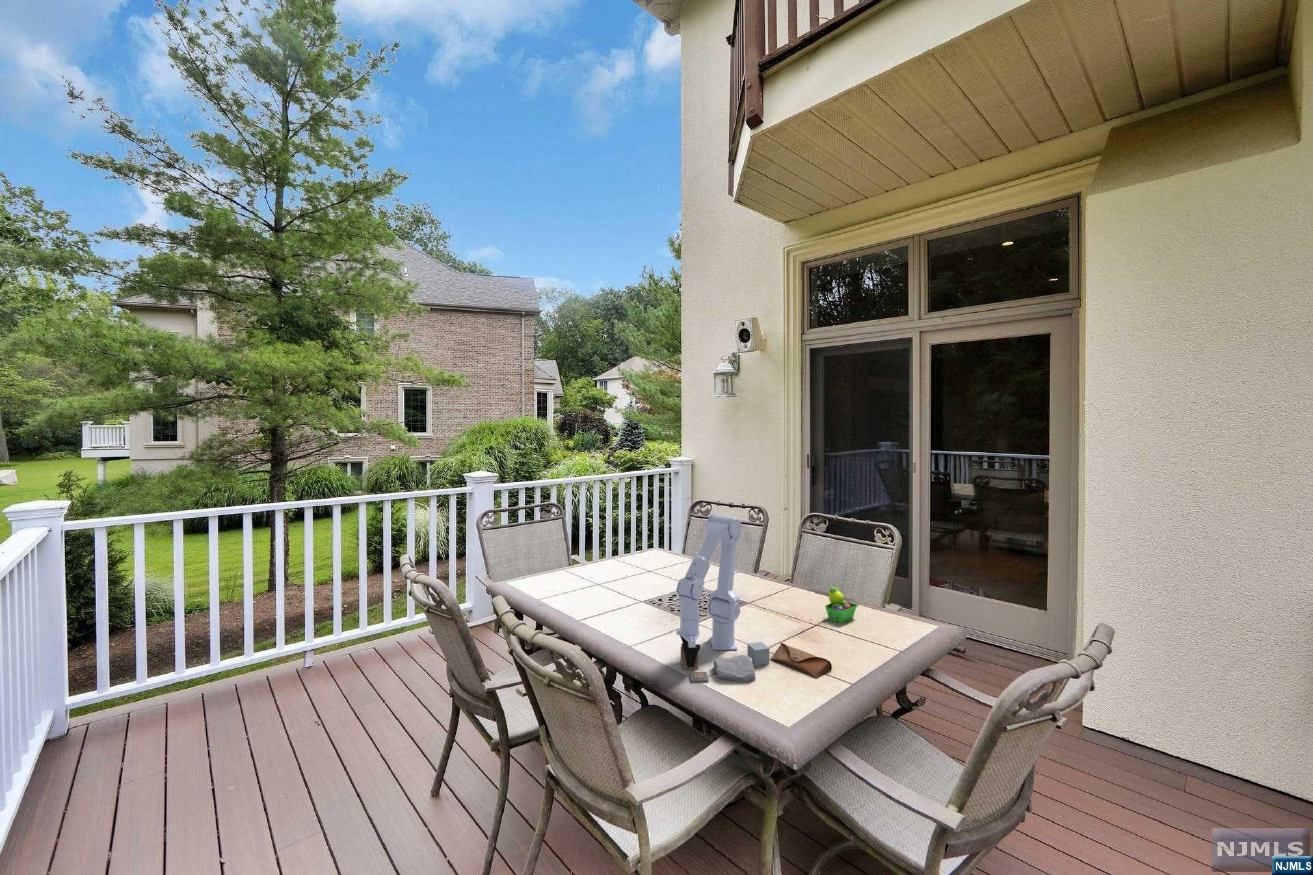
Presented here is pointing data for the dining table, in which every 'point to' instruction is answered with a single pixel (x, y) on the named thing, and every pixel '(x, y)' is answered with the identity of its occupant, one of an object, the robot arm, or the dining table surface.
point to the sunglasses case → (801, 661)
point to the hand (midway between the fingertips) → (689, 660)
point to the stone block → (735, 668)
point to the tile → (699, 677)
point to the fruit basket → (839, 607)
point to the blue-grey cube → (758, 653)
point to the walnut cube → (683, 661)
